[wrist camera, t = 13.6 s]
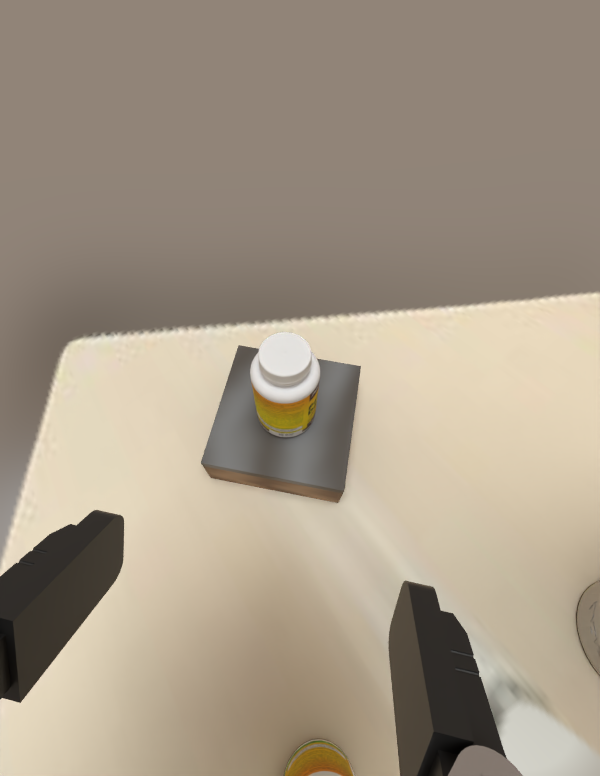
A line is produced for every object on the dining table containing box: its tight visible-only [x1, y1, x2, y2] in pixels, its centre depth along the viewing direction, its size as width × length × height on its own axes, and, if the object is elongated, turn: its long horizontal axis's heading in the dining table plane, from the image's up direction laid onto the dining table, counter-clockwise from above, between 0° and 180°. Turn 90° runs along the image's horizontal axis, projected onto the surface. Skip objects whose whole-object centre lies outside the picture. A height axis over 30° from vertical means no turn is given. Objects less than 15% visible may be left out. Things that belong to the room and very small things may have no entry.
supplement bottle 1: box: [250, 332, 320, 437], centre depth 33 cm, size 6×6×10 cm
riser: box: [201, 346, 361, 503], centre depth 39 cm, size 13×13×5 cm
